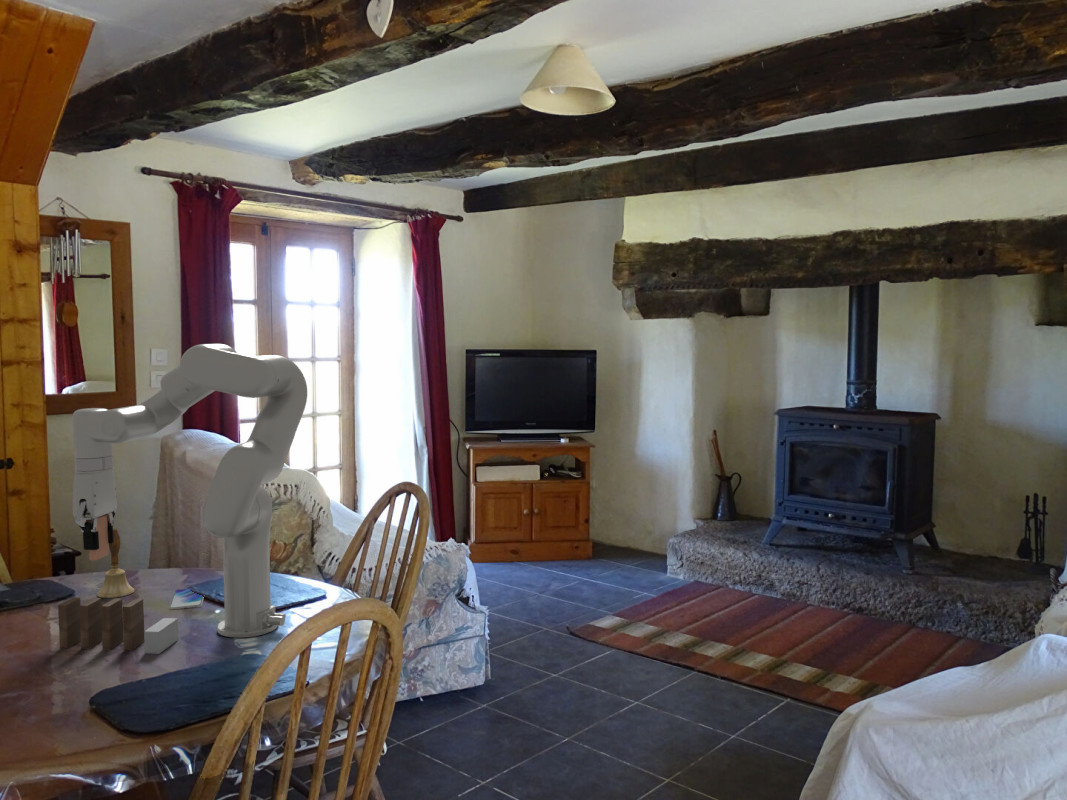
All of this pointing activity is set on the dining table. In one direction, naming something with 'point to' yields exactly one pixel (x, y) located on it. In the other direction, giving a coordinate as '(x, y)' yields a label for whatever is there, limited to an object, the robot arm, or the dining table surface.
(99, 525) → the domino
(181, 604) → the smartphone
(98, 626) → the domino
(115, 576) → the hand bell
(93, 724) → the dining table surface
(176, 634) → the block
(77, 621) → the domino
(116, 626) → the domino
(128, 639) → the domino
